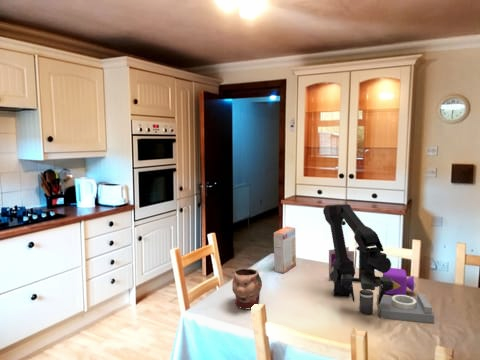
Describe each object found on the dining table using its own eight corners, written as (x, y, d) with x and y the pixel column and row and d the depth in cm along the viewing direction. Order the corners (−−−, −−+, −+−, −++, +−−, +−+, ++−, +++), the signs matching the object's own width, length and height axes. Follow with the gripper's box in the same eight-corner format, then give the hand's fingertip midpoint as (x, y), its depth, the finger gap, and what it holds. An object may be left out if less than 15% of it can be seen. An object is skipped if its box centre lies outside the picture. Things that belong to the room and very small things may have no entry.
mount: (381, 318, 136) (381, 304, 135) (376, 301, 149) (377, 289, 149) (433, 323, 131) (434, 309, 131) (424, 305, 145) (425, 293, 144)
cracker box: (286, 263, 197) (286, 226, 195) (296, 265, 194) (296, 227, 191) (273, 271, 186) (273, 231, 183) (283, 273, 182) (283, 233, 180)
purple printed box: (328, 281, 171) (328, 250, 170) (328, 275, 179) (328, 246, 177) (353, 282, 169) (354, 251, 167) (352, 276, 176) (353, 247, 174)
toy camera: (418, 298, 152) (419, 275, 150) (383, 296, 154) (384, 273, 153) (411, 288, 162) (412, 266, 161) (379, 286, 165) (379, 265, 164)
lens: (359, 314, 139) (360, 294, 138) (358, 308, 144) (359, 289, 143) (373, 315, 138) (374, 295, 137) (372, 309, 143) (372, 290, 142)
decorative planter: (237, 292, 162) (236, 262, 160) (264, 293, 160) (264, 263, 158) (228, 313, 142) (227, 279, 140) (259, 315, 140) (258, 280, 138)
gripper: (342, 269, 133) (341, 309, 135) (396, 273, 129) (395, 314, 130) (341, 259, 144) (341, 297, 146) (391, 262, 139) (390, 301, 141)
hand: (366, 302), depth 140 cm, fingers open, 9 cm apart
